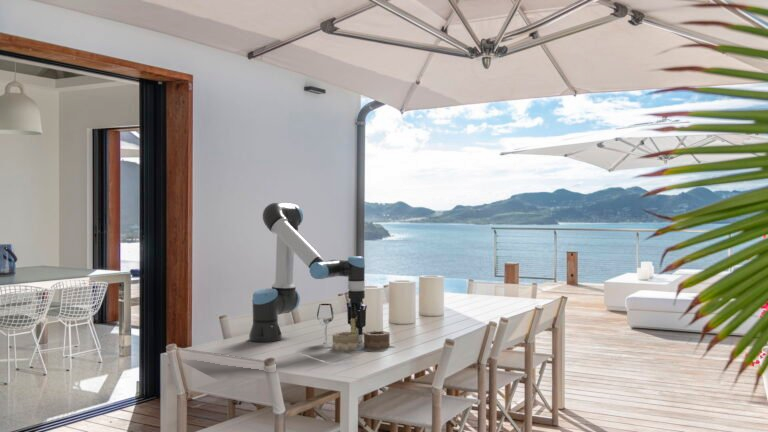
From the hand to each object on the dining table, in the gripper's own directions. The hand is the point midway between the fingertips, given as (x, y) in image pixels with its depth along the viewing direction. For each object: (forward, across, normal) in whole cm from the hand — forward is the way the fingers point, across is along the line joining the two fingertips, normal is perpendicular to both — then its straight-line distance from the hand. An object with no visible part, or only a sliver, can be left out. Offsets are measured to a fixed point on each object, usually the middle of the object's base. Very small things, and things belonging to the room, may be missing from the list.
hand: (356, 340), depth 306 cm
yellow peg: (+1, 0, 0) cm, 1 cm away
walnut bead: (0, -16, 0) cm, 16 cm away
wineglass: (+1, +6, +13) cm, 14 cm away
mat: (+1, -13, +6) cm, 14 cm away
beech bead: (0, -10, +12) cm, 16 cm away
